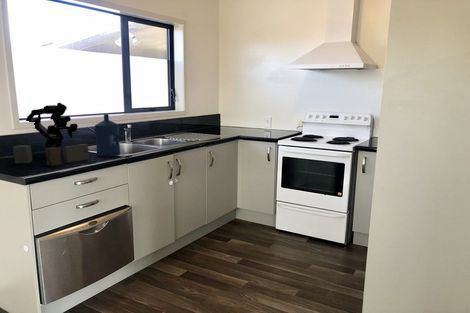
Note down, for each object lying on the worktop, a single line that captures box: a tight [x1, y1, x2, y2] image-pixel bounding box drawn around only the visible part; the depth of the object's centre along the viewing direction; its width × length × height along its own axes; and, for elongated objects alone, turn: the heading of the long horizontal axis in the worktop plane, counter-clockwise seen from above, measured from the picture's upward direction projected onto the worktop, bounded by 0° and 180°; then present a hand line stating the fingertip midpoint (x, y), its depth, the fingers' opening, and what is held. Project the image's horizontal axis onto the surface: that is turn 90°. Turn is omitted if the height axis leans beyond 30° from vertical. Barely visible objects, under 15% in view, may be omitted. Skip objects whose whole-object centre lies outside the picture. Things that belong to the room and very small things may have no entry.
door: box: [62, 143, 90, 164], centre depth 228 cm, size 16×3×10 cm, turn 140°
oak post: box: [45, 147, 62, 167], centre depth 220 cm, size 7×6×10 cm
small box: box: [12, 144, 33, 164], centre depth 226 cm, size 8×6×10 cm
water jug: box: [94, 113, 121, 157], centre depth 251 cm, size 16×16×28 cm
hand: (67, 138), depth 235 cm, fingers open, 5 cm apart
